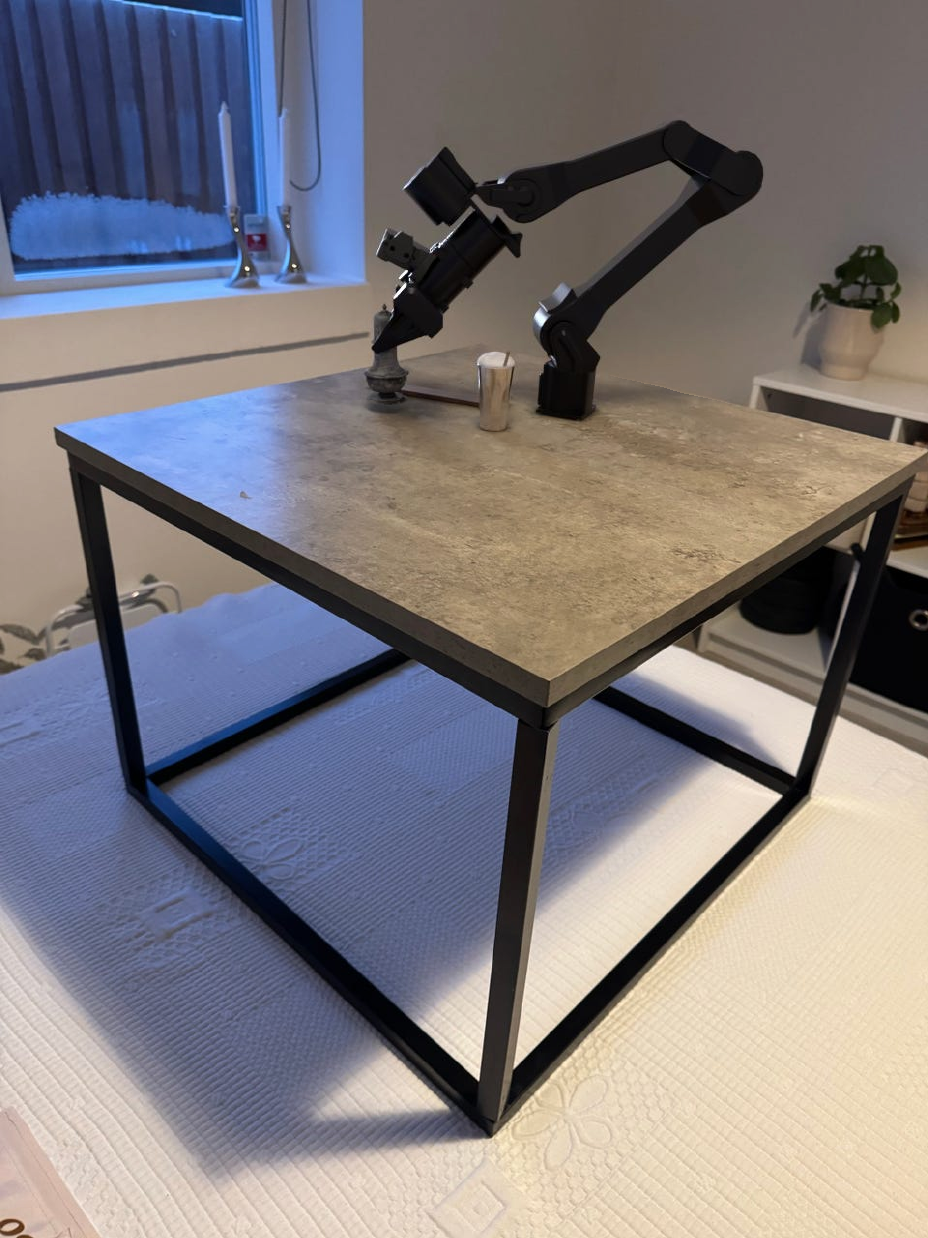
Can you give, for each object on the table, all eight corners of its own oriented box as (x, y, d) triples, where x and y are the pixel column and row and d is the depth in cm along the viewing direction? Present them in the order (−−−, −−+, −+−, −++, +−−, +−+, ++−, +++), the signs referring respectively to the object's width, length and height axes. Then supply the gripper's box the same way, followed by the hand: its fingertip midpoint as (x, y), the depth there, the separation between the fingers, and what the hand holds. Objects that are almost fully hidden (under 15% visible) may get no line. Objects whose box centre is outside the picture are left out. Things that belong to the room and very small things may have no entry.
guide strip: (507, 404, 117) (507, 400, 117) (497, 410, 114) (498, 405, 114) (381, 383, 124) (381, 379, 124) (370, 388, 122) (370, 384, 122)
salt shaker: (376, 407, 109) (373, 309, 103) (357, 396, 114) (352, 301, 108) (417, 401, 112) (416, 305, 106) (396, 391, 116) (394, 297, 110)
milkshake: (487, 436, 105) (491, 352, 100) (469, 423, 109) (472, 342, 104) (520, 432, 106) (525, 349, 101) (501, 420, 110) (505, 340, 105)
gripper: (417, 197, 110) (335, 288, 115) (413, 209, 93) (318, 314, 99) (477, 265, 114) (395, 349, 119) (483, 287, 97) (388, 383, 103)
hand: (374, 347), depth 110 cm, fingers closed on salt shaker, 3 cm apart
